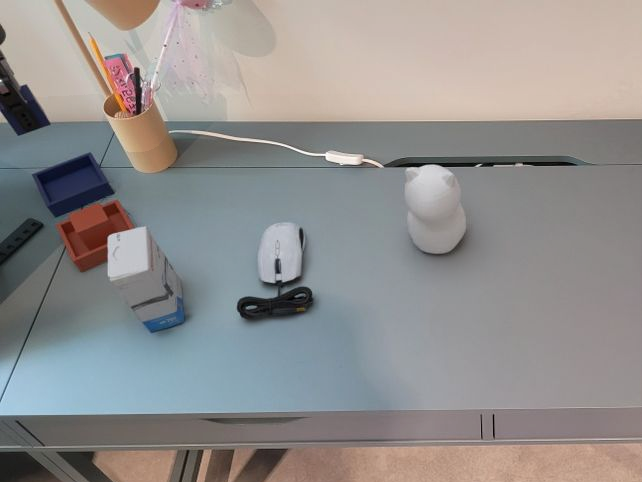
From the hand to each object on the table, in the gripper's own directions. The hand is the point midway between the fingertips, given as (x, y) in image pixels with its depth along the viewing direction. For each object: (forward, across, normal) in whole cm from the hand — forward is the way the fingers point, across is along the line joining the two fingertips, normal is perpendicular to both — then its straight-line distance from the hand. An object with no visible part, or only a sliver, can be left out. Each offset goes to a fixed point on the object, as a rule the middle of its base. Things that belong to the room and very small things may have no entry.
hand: (28, 119), depth 95 cm
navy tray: (+14, 0, 0) cm, 14 cm away
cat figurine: (+14, -44, -42) cm, 63 cm away
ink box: (+14, -32, -3) cm, 35 cm away
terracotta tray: (+14, -14, 0) cm, 20 cm away
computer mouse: (+14, -36, -19) cm, 43 cm away
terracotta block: (+14, -14, 0) cm, 19 cm away
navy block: (+1, 0, 0) cm, 1 cm away
